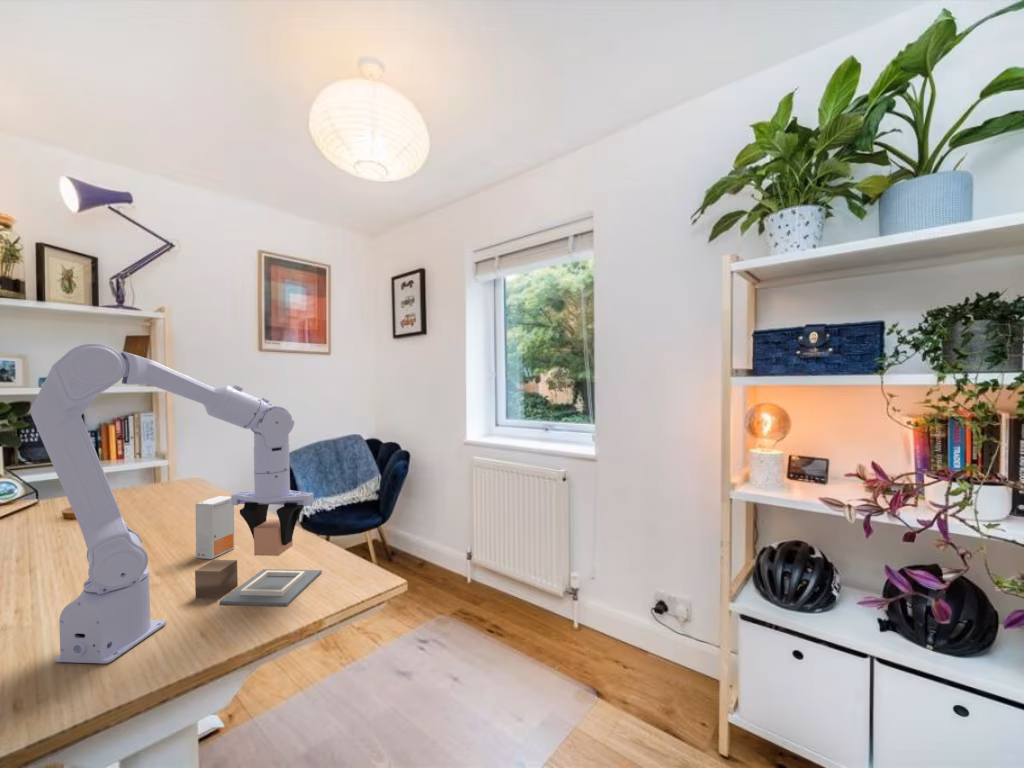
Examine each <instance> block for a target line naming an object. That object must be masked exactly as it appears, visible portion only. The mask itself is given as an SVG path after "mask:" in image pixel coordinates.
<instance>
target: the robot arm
mask: <svg viewBox="0 0 1024 768" xmlns="http://www.w3.org/2000/svg"><path fill="white" fill-rule="evenodd" d="M119 381H121V384H122V385H126V386H129V385H133V386H134V385H149V386H153V387H155V388H158V389H160V390H163V391H165V392H169V393H171V394H174V395H177V396H180V397H183V398H185V399H188V400H191V401H194V402H197V403H198V404H202V405H204V406H203V407H204V408H205V411H206V413H207V414H208V416H210V417H213V418H215V419H218V420H220V421H223V422H226V423H228V424H231V425H233V426H234V425H235V426H237V427H240V428H241V429H245V430H248V429H249V430H250V431H251V432H252V433H253V439H254V441H253V443H254V444H253V445H254V446H253V475H254V477H253V478H254V479H253V481H254V482H253V485H254V490H253V491H238V492H236V493H233V494H230V497H231V504H232V505H234V506H238V505H244V506H243V507H242V508H241V509H239V516H241V517H242V518H243V519H244V521H245V523H246V524H247V526H248V528H249V530H250V533H251V536H252V538H253V540H254V528H255V527H257V526H258V525H260V524H262V523H264V522H266V521H267V518H268V510H269V507H270V506H269V505H283V506H281V507H279V508H277V509H276V511H275V512H276V515H277V517H278V520H279V521H280V527H281V542H282V545H287V544H288V543H290V542H291V541H292V542H293V535H294V532H295V528H296V524H297V521H298V520H299V518H300V515H301V513H302V511H303V509H304V507H309V506H310V505H312V504H314V500H315V499H314V492H305V491H299V490H292V489H291V480H290V479H291V477H290V476H291V474H290V473H291V472H290V471H291V469H290V468H291V466H290V439H289V438H290V437H289V436H290V435H289V434H290V433H291V432H292V430H293V429H294V426H295V421H294V420H293V417H292V415H291V413H290V412H289V411H288V410H287V409H286V408H284V407H282V406H279V405H278V406H277V405H272V404H271V403H270V399H268V398H265V397H263V398H259V397H256V396H254V395H251V394H250V393H247V392H245V391H243V390H244V387H242V386H239V385H237V384H234V385H232V386H231V385H228V384H223V385H220V386H217V387H212V386H211V385H208V384H206V383H204V382H202V381H199V380H197V379H195V378H193V377H190V376H188V375H187V374H184V373H181V372H180V371H177V370H174V369H173V368H171V367H167V366H166V365H163V364H161V363H159V362H157V361H155V360H152V359H150V358H146V357H143V356H141V355H136V354H133V353H130V352H127V351H117V350H116V349H115V348H113V347H110V346H108V345H105V344H101V343H83V344H81V345H78V346H75V347H73V348H71V349H70V350H68V351H67V352H66V353H65V354H64V355H63V356H61V358H59V359H58V360H57V361H56V362H55V363H54V364H52V366H51V368H50V370H49V371H48V374H47V376H46V378H45V380H44V382H43V384H42V386H41V387H40V389H39V392H38V394H37V396H36V397H35V400H34V401H33V403H32V405H31V409H30V416H31V419H32V420H33V423H34V425H35V427H36V430H37V431H38V435H39V436H40V439H41V441H42V444H43V446H44V448H45V451H46V452H47V455H48V457H49V459H50V463H51V465H52V466H53V468H54V471H55V473H56V475H57V477H58V480H59V483H60V484H61V487H62V489H63V491H64V493H65V496H66V498H67V500H68V503H69V505H70V508H71V509H72V512H73V514H74V516H75V517H74V518H75V519H76V522H77V523H78V526H79V528H80V531H81V533H82V536H83V539H84V542H85V545H86V546H85V547H86V549H87V550H86V560H87V563H88V571H87V575H88V578H87V580H86V581H84V583H83V590H82V591H81V592H80V594H79V596H77V598H75V599H74V600H73V601H71V602H70V603H68V604H67V605H66V606H65V607H63V610H62V611H61V613H60V615H59V625H58V626H59V651H60V653H59V654H60V655H58V656H56V657H55V658H54V662H55V663H77V664H78V663H79V664H80V663H81V664H82V663H83V664H85V663H86V664H109V663H111V662H112V661H114V660H116V659H117V658H118V657H120V656H122V655H123V654H125V653H126V652H128V651H129V650H130V649H132V648H133V647H134V646H136V645H137V644H139V643H140V642H142V641H144V639H146V638H148V637H149V636H150V635H152V634H154V633H155V632H156V631H158V630H159V629H161V628H162V627H163V626H165V625H166V624H167V621H166V620H163V619H162V620H159V619H158V620H156V619H151V597H150V596H151V591H150V587H151V586H150V585H151V584H150V569H149V567H148V563H149V554H148V552H147V550H146V549H145V548H144V546H143V543H142V542H143V541H142V538H141V536H140V535H139V534H138V532H136V531H134V530H132V529H131V528H130V527H129V526H128V525H127V523H126V522H125V521H126V520H125V519H124V517H123V514H122V511H121V510H120V507H119V505H118V502H117V500H116V497H115V495H114V493H113V490H112V488H111V485H110V483H109V480H108V478H107V475H106V473H105V471H104V467H103V466H102V464H101V463H102V462H101V461H100V459H99V456H98V454H97V451H96V448H95V446H94V444H93V441H92V439H91V436H90V434H89V431H88V429H87V427H86V424H85V422H84V419H83V417H82V415H83V414H84V412H85V411H86V410H87V409H88V407H89V406H90V405H91V404H92V403H93V402H94V401H95V399H96V397H97V396H98V395H100V394H101V393H103V392H105V391H106V390H108V389H109V388H111V387H113V386H115V385H116V384H117V383H118V382H119Z"/></svg>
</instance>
